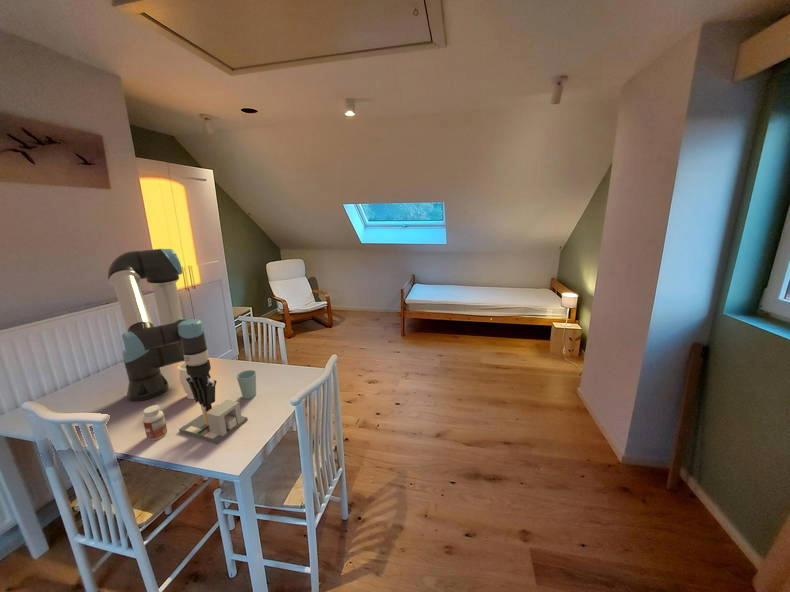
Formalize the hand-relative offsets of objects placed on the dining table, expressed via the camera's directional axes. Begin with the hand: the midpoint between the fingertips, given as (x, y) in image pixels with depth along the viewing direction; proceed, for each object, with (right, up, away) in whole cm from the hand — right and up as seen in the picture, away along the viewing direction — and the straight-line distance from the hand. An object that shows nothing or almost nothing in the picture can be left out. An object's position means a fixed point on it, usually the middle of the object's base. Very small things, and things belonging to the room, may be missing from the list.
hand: (208, 418), depth 123 cm
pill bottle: (-16, -5, -4) cm, 18 cm away
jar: (-18, +2, +22) cm, 28 cm away
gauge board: (+2, -3, 0) cm, 3 cm away
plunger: (+6, -2, -4) cm, 8 cm away
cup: (+6, +2, +20) cm, 21 cm away
